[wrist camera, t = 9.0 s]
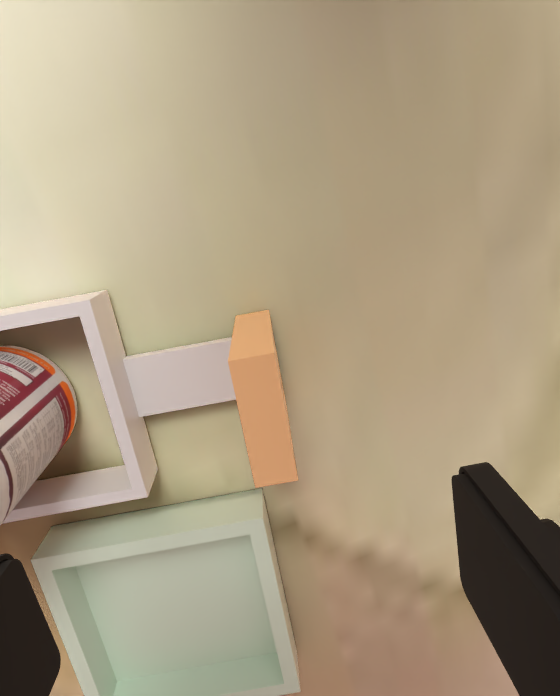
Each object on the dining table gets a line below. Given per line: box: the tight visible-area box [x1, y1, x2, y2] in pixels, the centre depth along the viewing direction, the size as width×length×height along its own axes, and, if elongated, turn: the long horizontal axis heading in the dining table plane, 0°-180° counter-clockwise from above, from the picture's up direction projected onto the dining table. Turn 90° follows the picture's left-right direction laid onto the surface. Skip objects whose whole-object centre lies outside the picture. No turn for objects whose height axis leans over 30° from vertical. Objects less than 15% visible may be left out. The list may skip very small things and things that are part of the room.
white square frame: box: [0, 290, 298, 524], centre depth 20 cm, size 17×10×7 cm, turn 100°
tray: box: [31, 488, 301, 696], centre depth 26 cm, size 12×12×3 cm
